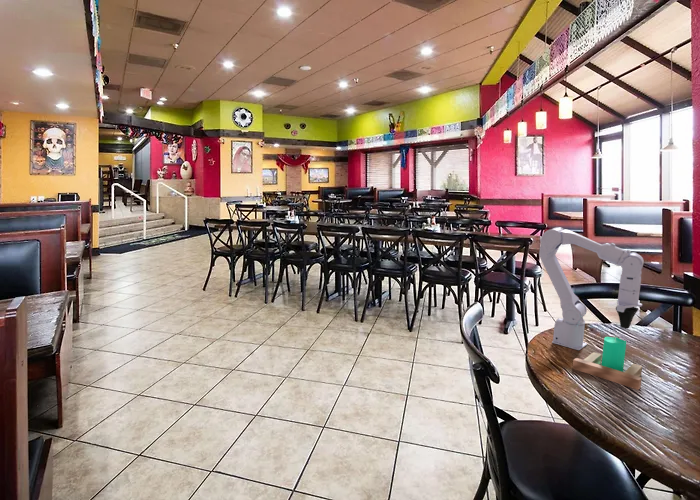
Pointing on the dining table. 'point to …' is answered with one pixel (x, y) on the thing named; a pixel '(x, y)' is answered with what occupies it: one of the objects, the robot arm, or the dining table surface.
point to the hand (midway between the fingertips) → (624, 327)
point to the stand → (609, 371)
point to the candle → (613, 353)
